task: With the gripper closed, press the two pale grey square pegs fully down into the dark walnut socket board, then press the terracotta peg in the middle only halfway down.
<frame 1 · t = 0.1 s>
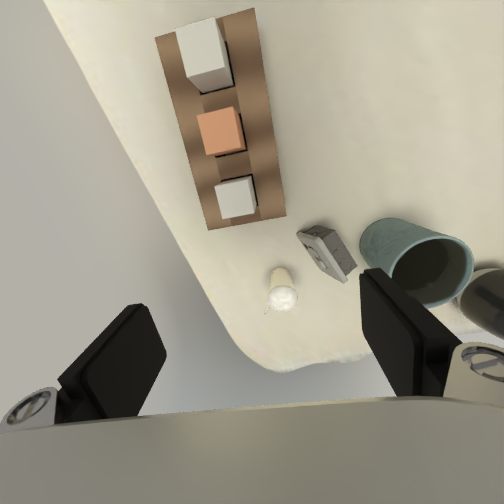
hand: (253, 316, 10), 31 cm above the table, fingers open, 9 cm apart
pump dispenser: (474, 285, 43), on the table
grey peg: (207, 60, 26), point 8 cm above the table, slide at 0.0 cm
terracotta peg: (224, 134, 29), point 8 cm above the table, slide at 0.0 cm
teal plant pot: (385, 242, 41), on the table
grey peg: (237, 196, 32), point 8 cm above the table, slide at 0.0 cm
socket board: (232, 139, 36), on the table
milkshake: (278, 275, 44), on the table
electrical switch: (319, 242, 42), on the table
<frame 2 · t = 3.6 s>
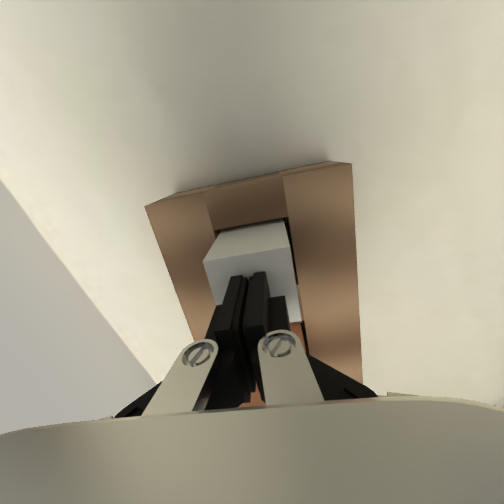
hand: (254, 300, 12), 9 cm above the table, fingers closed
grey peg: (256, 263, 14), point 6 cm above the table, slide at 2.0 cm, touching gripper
terracotta peg: (278, 381, 15), point 8 cm above the table, slide at 0.0 cm
socket board: (275, 308, 22), on the table
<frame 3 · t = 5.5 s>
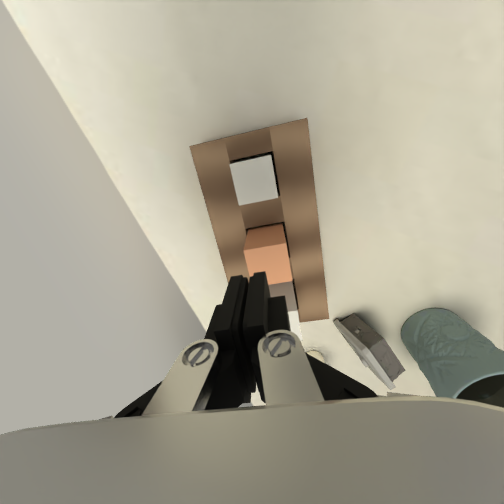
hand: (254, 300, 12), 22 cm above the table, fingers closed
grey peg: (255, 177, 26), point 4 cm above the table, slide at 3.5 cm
terracotta peg: (268, 252, 26), point 8 cm above the table, slide at 0.0 cm
teal plant pot: (429, 329, 38), on the table
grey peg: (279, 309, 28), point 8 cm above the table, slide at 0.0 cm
socket board: (268, 230, 33), on the table
electrical switch: (356, 328, 39), on the table
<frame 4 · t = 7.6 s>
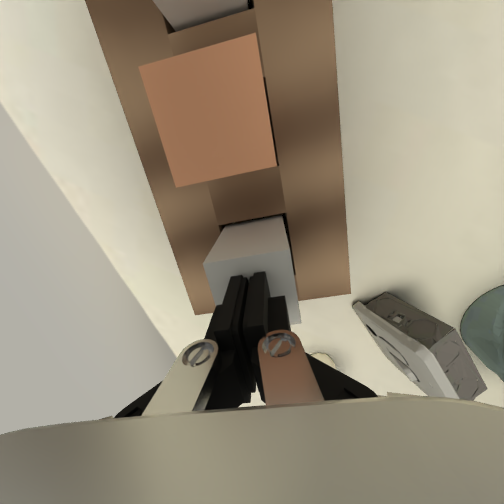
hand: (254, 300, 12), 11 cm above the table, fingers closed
terracotta peg: (226, 128, 11), point 8 cm above the table, slide at 0.0 cm
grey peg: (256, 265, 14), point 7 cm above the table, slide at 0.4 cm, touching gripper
socket board: (242, 138, 19), on the table
electrical switch: (388, 317, 24), on the table
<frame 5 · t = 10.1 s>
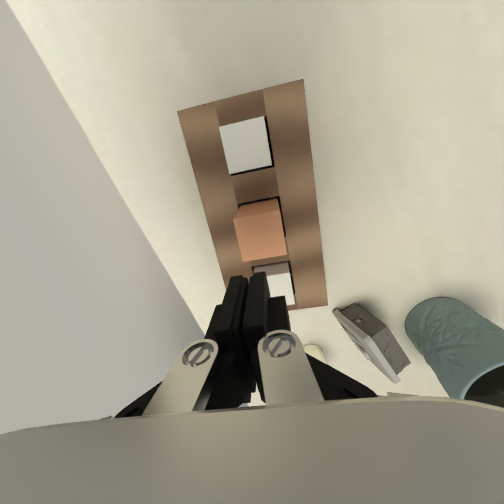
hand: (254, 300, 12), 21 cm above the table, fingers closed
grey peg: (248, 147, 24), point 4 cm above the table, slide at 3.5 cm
terracotta peg: (261, 227, 24), point 8 cm above the table, slide at 0.0 cm
teal plant pot: (435, 321, 35), on the table
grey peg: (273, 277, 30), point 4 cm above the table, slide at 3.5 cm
socket board: (263, 211, 31), on the table
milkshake: (308, 351, 39), on the table
electrical switch: (357, 319, 36), on the table
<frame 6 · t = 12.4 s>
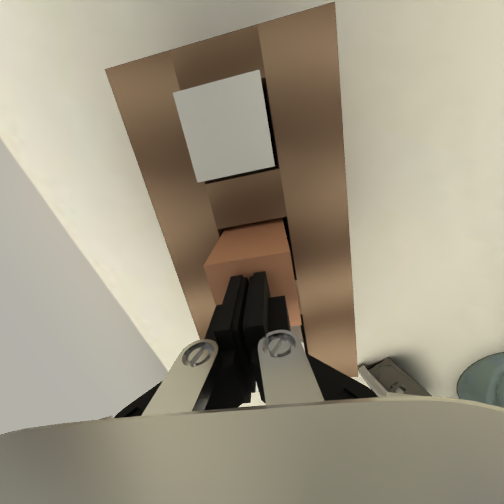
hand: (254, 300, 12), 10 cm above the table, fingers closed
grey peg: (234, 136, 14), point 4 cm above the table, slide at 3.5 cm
terracotta peg: (257, 267, 14), point 7 cm above the table, slide at 0.9 cm, touching gripper
teal plant pot: (499, 381, 26), on the table
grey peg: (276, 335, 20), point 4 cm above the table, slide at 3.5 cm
socket board: (260, 233, 21), on the table
electrical switch: (391, 377, 26), on the table
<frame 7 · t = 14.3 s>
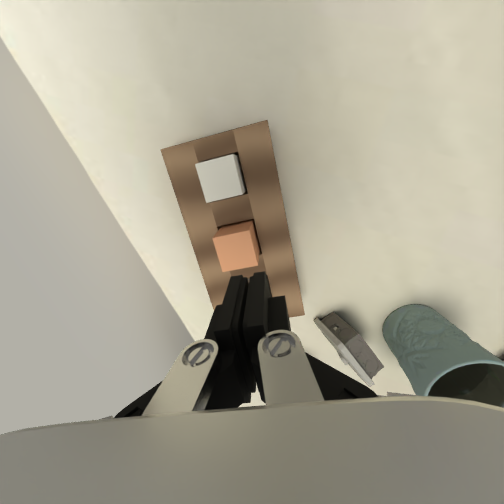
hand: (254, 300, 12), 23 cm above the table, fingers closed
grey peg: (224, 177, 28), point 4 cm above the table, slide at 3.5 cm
terracotta peg: (239, 242, 29), point 6 cm above the table, slide at 1.9 cm
teal plant pot: (411, 327, 38), on the table
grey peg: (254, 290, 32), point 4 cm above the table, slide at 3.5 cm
socket board: (243, 230, 34), on the table
electrical switch: (338, 327, 39), on the table
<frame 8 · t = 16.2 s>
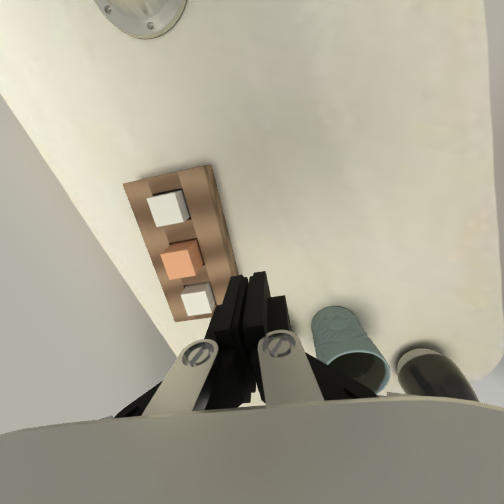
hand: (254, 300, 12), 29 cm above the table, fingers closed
pump dispenser: (414, 359, 48), on the table
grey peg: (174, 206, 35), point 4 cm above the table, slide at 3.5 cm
terracotta peg: (185, 256, 37), point 6 cm above the table, slide at 1.9 cm
teal plant pot: (334, 324, 47), on the table
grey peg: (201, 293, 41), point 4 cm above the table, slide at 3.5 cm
socket board: (196, 243, 42), on the table
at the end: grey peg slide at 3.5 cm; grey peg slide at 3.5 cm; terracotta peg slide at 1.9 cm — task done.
